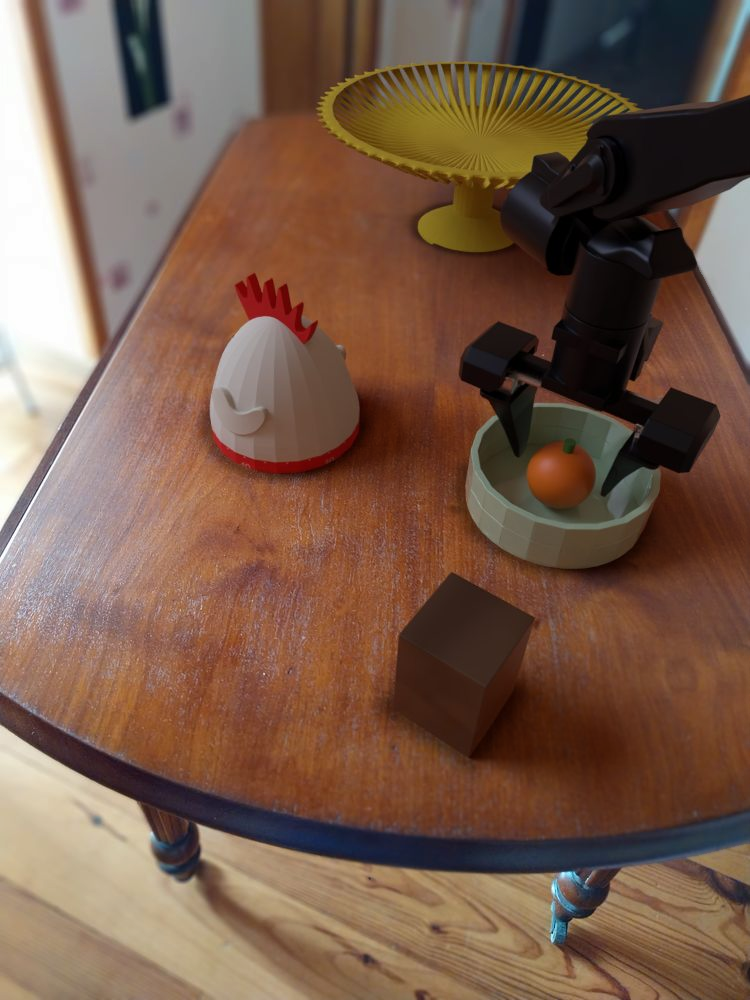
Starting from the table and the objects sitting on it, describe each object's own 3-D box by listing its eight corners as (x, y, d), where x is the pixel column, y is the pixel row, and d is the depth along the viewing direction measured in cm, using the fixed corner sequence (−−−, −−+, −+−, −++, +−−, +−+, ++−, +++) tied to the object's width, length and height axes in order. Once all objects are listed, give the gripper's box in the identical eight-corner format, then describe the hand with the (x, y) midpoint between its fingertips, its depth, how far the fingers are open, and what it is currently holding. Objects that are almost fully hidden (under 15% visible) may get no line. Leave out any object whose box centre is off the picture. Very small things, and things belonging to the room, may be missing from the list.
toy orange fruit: (597, 494, 65) (617, 437, 60) (570, 532, 62) (588, 475, 57) (539, 467, 67) (554, 410, 62) (509, 503, 64) (522, 445, 59)
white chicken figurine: (277, 365, 78) (266, 227, 67) (387, 415, 73) (393, 273, 62) (181, 436, 70) (150, 291, 59) (297, 498, 64) (286, 351, 54)
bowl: (669, 490, 66) (687, 448, 63) (598, 602, 57) (615, 560, 54) (516, 423, 72) (525, 381, 69) (431, 515, 63) (436, 472, 60)
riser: (512, 693, 52) (535, 617, 45) (468, 760, 48) (486, 687, 42) (439, 649, 54) (451, 570, 48) (391, 710, 51) (398, 634, 44)
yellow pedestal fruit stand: (326, 165, 114) (324, 54, 104) (589, 172, 115) (614, 63, 104) (309, 305, 86) (303, 174, 75) (657, 314, 87) (701, 185, 76)
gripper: (779, 303, 52) (703, 467, 63) (538, 226, 60) (508, 385, 71) (729, 379, 46) (655, 547, 57) (466, 282, 53) (446, 448, 64)
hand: (561, 473), depth 62 cm, fingers open, 7 cm apart
